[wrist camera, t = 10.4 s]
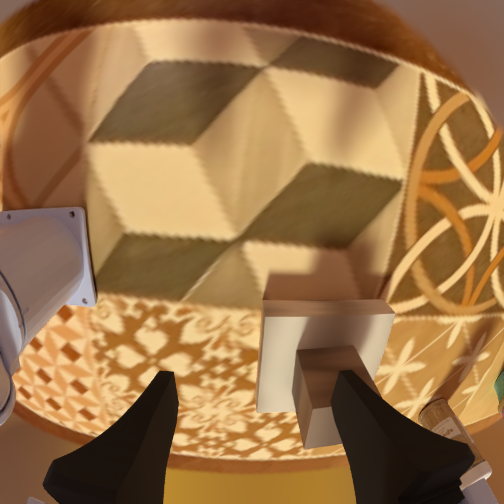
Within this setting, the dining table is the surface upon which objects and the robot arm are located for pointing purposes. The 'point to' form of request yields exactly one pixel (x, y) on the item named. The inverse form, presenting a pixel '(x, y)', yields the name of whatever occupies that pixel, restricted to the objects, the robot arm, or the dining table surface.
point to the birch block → (314, 340)
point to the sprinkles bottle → (454, 437)
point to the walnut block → (322, 390)
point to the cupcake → (500, 392)
